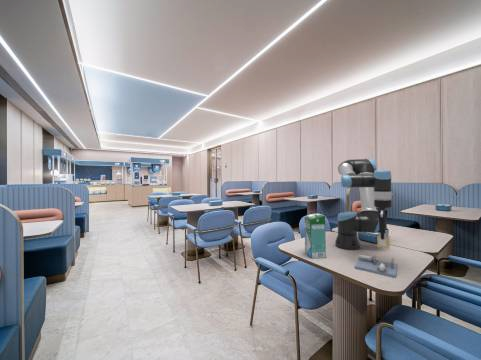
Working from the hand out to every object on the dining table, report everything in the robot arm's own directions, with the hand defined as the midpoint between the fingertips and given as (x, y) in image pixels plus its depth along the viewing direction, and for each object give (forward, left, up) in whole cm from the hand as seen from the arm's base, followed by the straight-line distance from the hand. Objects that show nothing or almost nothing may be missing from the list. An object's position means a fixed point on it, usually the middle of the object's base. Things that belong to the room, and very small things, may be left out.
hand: (383, 243), depth 107 cm
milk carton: (-34, -5, -12) cm, 37 cm away
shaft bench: (-3, -3, -12) cm, 13 cm away
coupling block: (0, 0, -1) cm, 1 cm away
